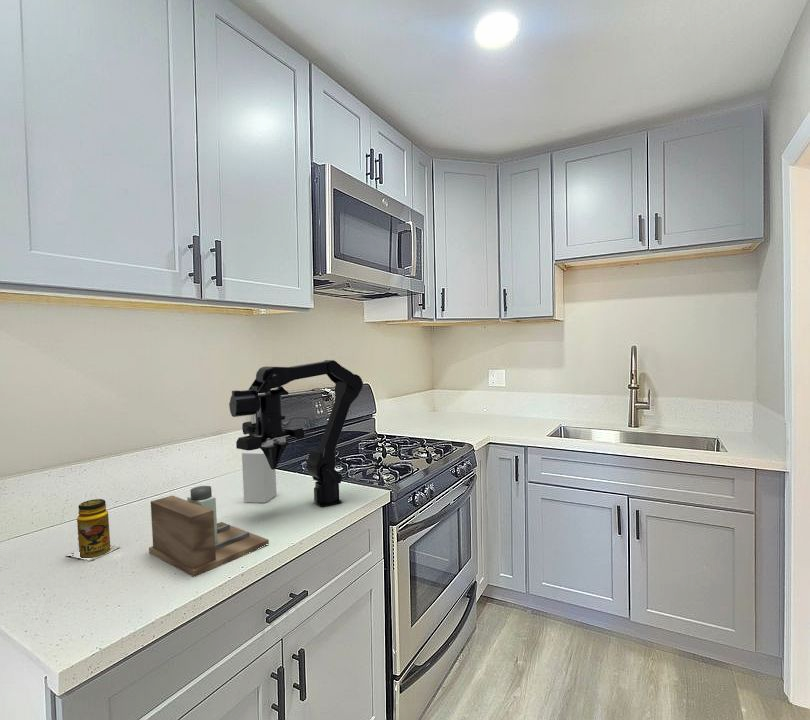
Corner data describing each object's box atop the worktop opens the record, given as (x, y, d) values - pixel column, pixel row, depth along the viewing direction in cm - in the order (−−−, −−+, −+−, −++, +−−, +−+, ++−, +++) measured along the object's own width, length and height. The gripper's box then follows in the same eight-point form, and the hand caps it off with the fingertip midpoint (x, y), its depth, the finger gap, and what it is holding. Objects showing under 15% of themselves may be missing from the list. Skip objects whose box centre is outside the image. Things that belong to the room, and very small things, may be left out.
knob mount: (221, 526, 123) (219, 481, 123) (268, 544, 111) (266, 494, 110) (149, 552, 109) (146, 501, 108) (193, 576, 96) (190, 519, 96)
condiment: (90, 561, 105) (87, 508, 104) (65, 556, 108) (61, 505, 108) (120, 548, 112) (117, 498, 111) (96, 543, 115) (93, 494, 114)
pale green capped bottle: (205, 538, 112) (203, 484, 112) (219, 544, 108) (216, 488, 108) (187, 544, 109) (184, 489, 108) (201, 551, 105) (198, 493, 104)
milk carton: (265, 503, 140) (262, 440, 139) (243, 502, 141) (241, 439, 140) (276, 495, 147) (274, 435, 146) (255, 494, 148) (253, 435, 147)
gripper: (280, 406, 140) (282, 458, 141) (223, 415, 126) (225, 473, 126) (305, 408, 134) (307, 463, 134) (247, 418, 119) (250, 479, 120)
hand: (273, 469), depth 129 cm, fingers closed
